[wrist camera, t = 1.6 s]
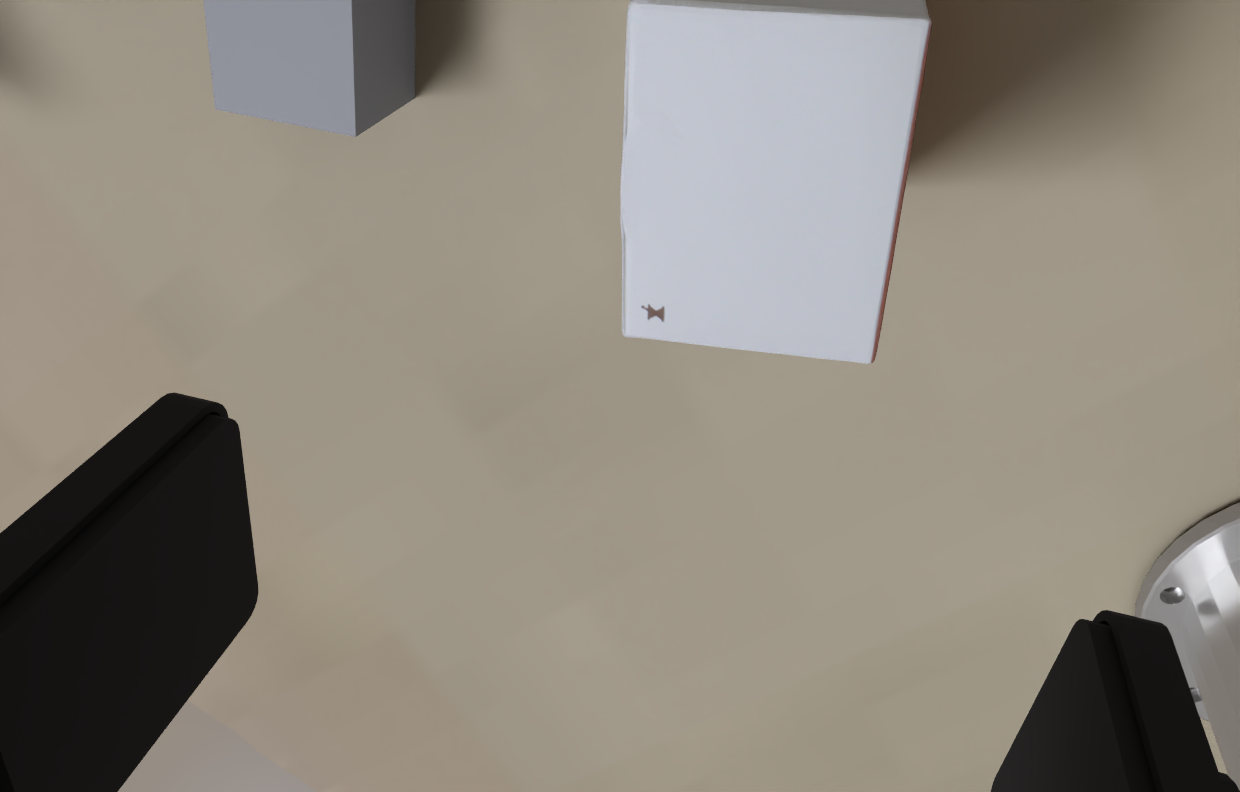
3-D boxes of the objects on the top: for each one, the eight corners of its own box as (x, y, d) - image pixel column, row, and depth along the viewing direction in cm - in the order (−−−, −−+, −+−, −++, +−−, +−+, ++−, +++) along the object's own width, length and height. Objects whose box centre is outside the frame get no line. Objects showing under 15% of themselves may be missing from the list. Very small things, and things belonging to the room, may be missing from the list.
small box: (877, 190, 34) (875, 374, 23) (696, 174, 35) (614, 343, 24) (917, -66, 30) (937, 13, 19) (710, -75, 31) (618, -4, 20)
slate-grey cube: (416, -49, 34) (350, -27, 29) (415, 97, 36) (355, 136, 32) (280, -72, 34) (197, -53, 30) (290, 73, 37) (215, 109, 33)
